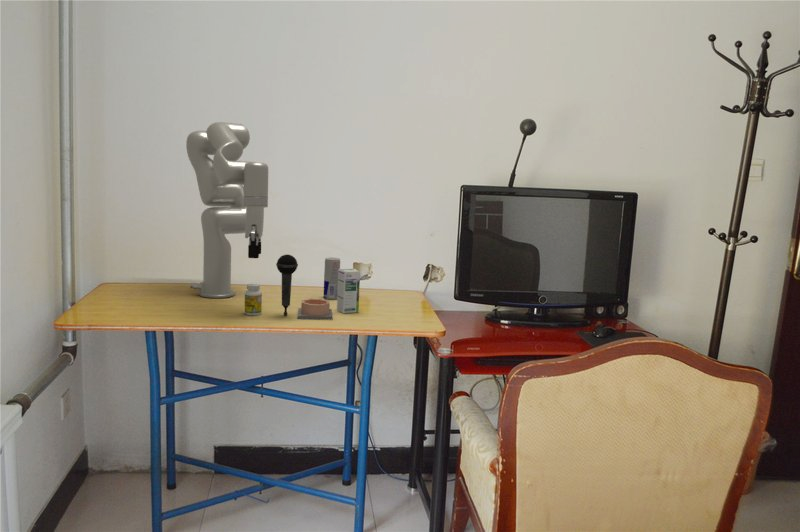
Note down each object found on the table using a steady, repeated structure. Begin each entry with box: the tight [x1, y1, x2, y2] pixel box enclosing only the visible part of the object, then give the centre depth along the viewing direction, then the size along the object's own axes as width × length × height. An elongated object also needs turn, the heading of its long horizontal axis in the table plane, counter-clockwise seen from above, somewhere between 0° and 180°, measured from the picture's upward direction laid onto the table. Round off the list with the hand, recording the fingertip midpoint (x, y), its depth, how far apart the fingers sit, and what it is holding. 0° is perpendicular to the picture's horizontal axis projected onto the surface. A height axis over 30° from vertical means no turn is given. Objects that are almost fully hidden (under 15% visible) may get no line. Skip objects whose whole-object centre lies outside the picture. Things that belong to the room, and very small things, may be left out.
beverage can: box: [322, 256, 341, 300], centre depth 244 cm, size 6×6×15 cm
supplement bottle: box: [244, 283, 263, 316], centre depth 214 cm, size 5×5×10 cm
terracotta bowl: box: [297, 298, 333, 321], centre depth 217 cm, size 11×11×4 cm
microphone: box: [275, 254, 299, 317], centre depth 213 cm, size 7×7×20 cm
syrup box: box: [336, 268, 361, 314], centre depth 225 cm, size 6×6×14 cm
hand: (254, 255), depth 211 cm, fingers open, 9 cm apart
